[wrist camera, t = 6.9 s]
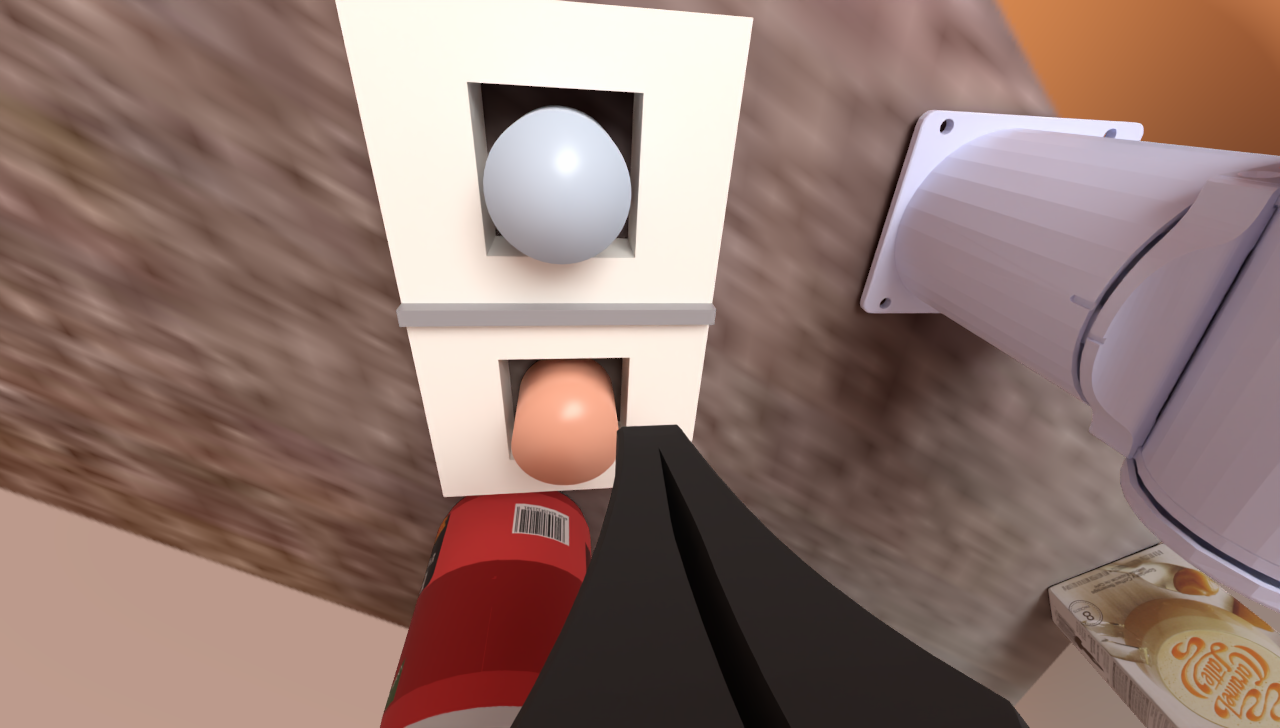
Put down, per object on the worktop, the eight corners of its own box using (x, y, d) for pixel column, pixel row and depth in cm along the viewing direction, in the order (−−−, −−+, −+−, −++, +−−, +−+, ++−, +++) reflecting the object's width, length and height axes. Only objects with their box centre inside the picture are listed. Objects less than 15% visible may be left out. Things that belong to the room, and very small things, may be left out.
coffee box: (1166, 537, 35) (1540, 824, 22) (1161, 578, 39) (1483, 850, 25) (1044, 587, 37) (1322, 885, 23) (1048, 622, 40) (1295, 902, 27)
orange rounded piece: (613, 352, 20) (622, 400, 17) (611, 427, 22) (618, 482, 19) (516, 353, 19) (506, 404, 16) (522, 431, 21) (515, 488, 18)
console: (728, 25, 15) (760, 15, 13) (676, 450, 25) (688, 493, 22) (366, -5, 14) (320, -24, 11) (454, 459, 23) (440, 507, 20)
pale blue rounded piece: (621, 108, 15) (634, 116, 12) (617, 233, 17) (628, 265, 14) (493, 101, 15) (474, 107, 12) (505, 230, 17) (491, 263, 14)
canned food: (414, 500, 24) (315, 768, 15) (566, 461, 24) (564, 706, 15) (474, 586, 28) (426, 839, 19) (605, 553, 28) (622, 791, 19)
